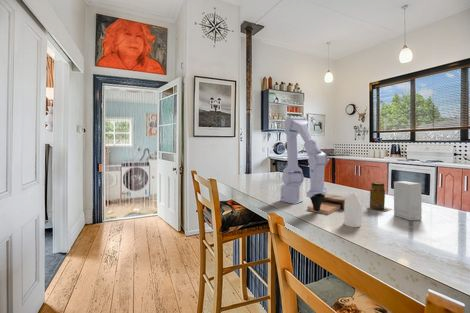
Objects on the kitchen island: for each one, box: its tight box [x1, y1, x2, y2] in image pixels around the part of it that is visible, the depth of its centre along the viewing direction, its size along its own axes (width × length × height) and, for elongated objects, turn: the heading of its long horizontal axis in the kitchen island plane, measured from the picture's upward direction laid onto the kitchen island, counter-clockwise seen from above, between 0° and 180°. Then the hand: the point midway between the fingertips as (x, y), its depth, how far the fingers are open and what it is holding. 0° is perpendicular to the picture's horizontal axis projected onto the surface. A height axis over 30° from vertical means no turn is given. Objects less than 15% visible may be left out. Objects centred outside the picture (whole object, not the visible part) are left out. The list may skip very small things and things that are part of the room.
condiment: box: [365, 181, 392, 212], centre depth 115 cm, size 7×8×12 cm
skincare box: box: [393, 180, 423, 221], centre depth 101 cm, size 8×6×15 cm
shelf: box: [321, 193, 349, 211], centre depth 121 cm, size 15×8×4 cm, turn 46°
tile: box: [307, 201, 342, 215], centre depth 114 cm, size 10×14×2 cm
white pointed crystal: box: [343, 193, 363, 228], centre depth 93 cm, size 6×12×6 cm
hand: (316, 210), depth 109 cm, fingers closed
